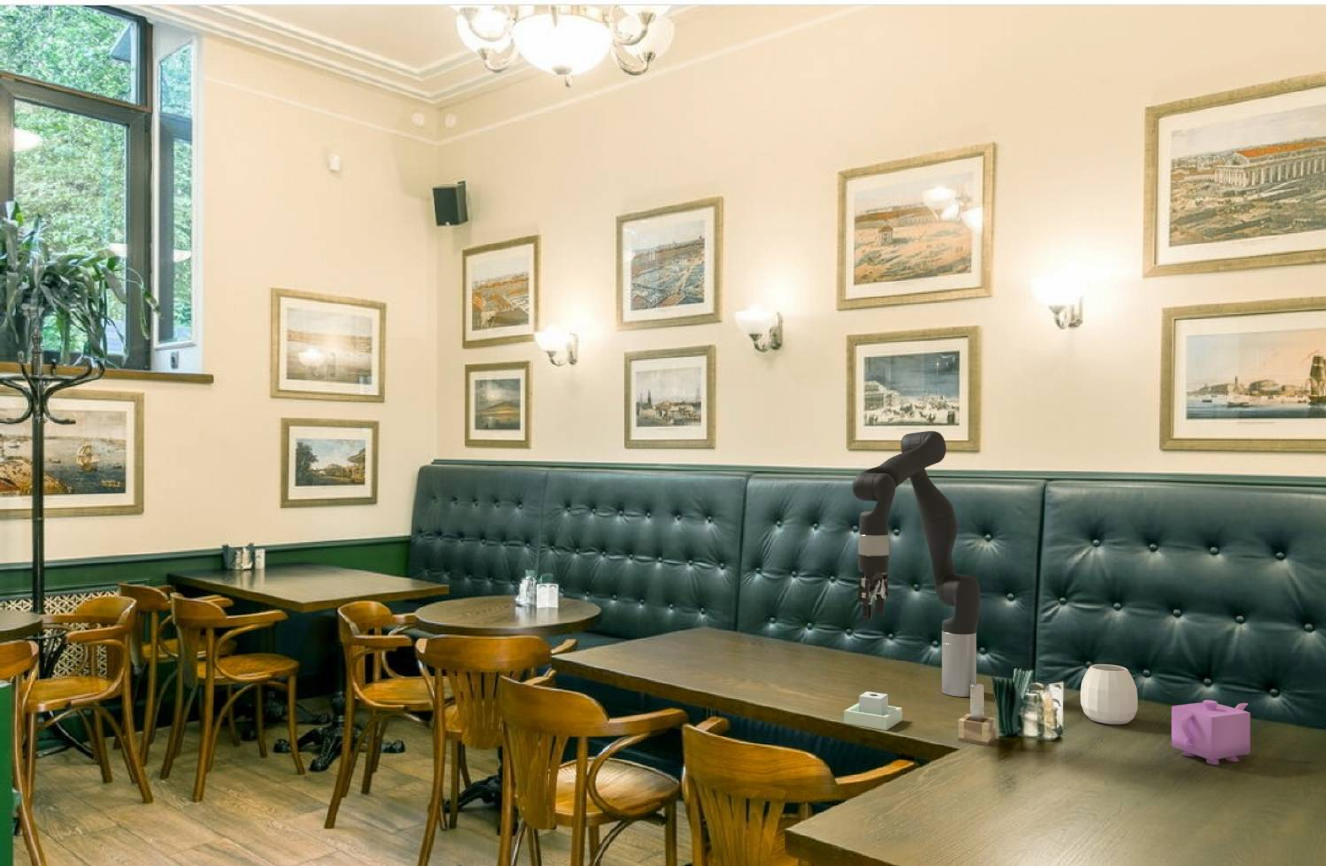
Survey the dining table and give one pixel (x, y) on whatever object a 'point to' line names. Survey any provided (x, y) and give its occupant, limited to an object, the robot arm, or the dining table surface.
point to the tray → (873, 718)
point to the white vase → (1109, 694)
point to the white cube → (873, 703)
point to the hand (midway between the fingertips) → (873, 617)
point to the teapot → (1211, 730)
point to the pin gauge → (977, 702)
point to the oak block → (977, 730)
